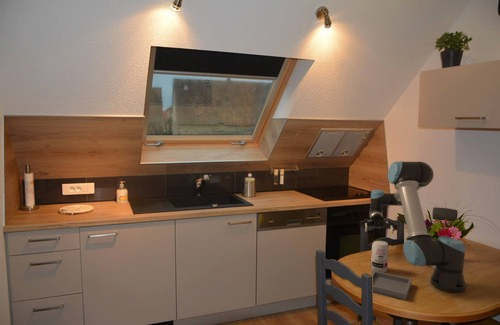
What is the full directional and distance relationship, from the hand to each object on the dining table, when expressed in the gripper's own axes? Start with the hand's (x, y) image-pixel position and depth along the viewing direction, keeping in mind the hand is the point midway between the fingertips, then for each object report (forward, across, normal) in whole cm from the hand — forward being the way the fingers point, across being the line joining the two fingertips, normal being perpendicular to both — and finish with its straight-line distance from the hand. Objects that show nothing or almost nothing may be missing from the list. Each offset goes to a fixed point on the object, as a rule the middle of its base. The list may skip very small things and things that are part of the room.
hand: (379, 230), depth 202 cm
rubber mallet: (-16, -36, -19) cm, 43 cm away
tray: (+30, -3, -18) cm, 35 cm away
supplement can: (+11, 0, -19) cm, 21 cm away
